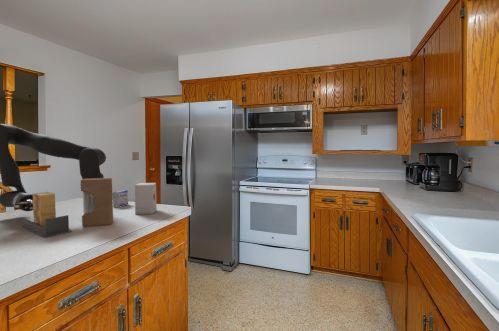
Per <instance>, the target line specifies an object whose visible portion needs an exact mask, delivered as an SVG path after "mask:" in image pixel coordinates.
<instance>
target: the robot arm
mask: <svg viewBox="0 0 499 331" xmlns="http://www.w3.org/2000/svg"><path fill="white" fill-rule="evenodd" d="M9 144H11V145H18V146H19V145H20V146H24V147H28V148H30V149H32V150H34V151H35V152H38V153H40V154H43V155H46V156H50V157H56V158H63V159H71V160H78V163H79V174H80V177H81V178H82V179H81V180H83V179H92V178H105V177H104V174H103V173H102V172H101V169H100V166H102V165H103V164H105V162H106V160H107V156H106V154H105V152H104V151H103V150H102V149H100V148H97V147H96V148H94V147H89V146H84V145H79V144H77V143H73V142H71V141H67V140H65V139H63V138H62V139H61V138H58V137H54V136H52V135H48V134H47V135H46V134H43V133H37V132H36V133H34V132H31V131H28V130H25V129H24V128H21V127H17V126H15V125H12V124H5V123H0V180H1V183H2V186H3V187H4V188H5V187H7V188H11V187H12V188H15V189H16V190H12V191H4V192H2V193H0V205H1V206H2V207H5V208H14V210H20V211H23V212H31V211H32V212H33V195H32V193H31V194H30V193H27V191H26V189H25V187H24V185H23V183H22V180H21V179H22V178H21V172H20V168H19V166H18V163H17V162H16V161H15V158H14V157H13V155H12V154H11V151H10V148H9ZM82 205H83V215H84V214H86V213H88V212H92V211H93V210H94V208H95V207H96V199H95V198H94V197H93V196H92V195H91V194H90V193H88V192H83V191H82Z"/></svg>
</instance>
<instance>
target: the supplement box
mask: <svg viewBox="0 0 499 331" xmlns="http://www.w3.org/2000/svg"><path fill="white" fill-rule="evenodd" d="M134 204H135V205H134V209H135V210H134V214H135V215H150V214H151V215H153V214H154V213H155V212H156V211H157V183H156V182H140V183H136V184H135V185H134Z"/></svg>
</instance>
